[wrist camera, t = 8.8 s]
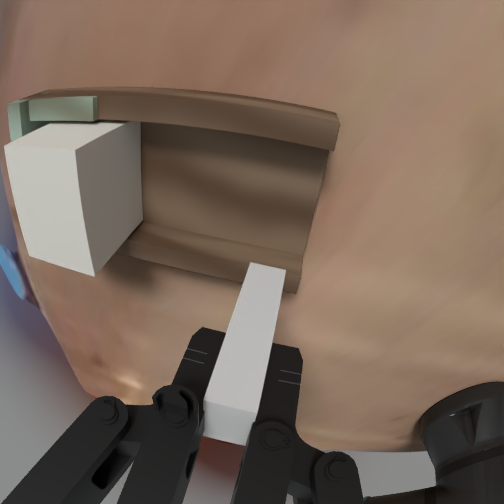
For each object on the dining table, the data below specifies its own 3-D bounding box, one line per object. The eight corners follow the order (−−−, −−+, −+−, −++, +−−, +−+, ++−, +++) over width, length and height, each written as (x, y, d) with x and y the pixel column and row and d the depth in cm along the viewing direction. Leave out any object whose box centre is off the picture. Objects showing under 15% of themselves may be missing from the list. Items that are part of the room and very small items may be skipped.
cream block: (143, 219, 24) (95, 276, 18) (81, 207, 24) (29, 255, 18) (140, 116, 19) (74, 150, 13) (72, 113, 19) (4, 146, 14)
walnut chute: (299, 263, 25) (294, 304, 21) (60, 212, 26) (31, 238, 23) (336, 112, 18) (341, 128, 14) (46, 90, 20) (7, 104, 16)
